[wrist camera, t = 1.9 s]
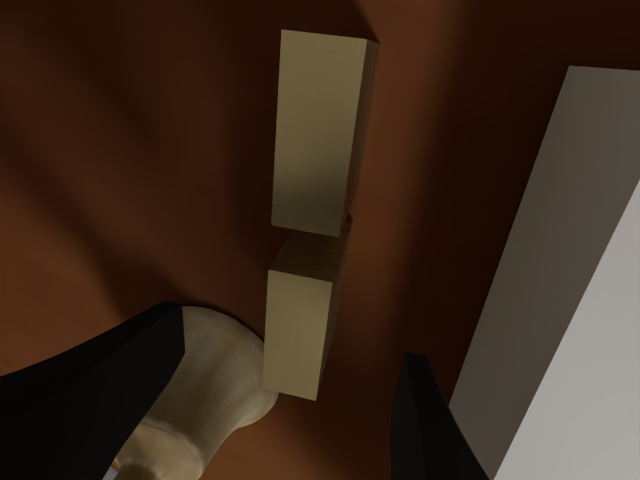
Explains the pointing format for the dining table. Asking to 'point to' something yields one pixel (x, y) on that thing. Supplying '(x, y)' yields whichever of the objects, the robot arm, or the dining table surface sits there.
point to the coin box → (566, 302)
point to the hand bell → (199, 401)
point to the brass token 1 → (320, 128)
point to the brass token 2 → (303, 310)
